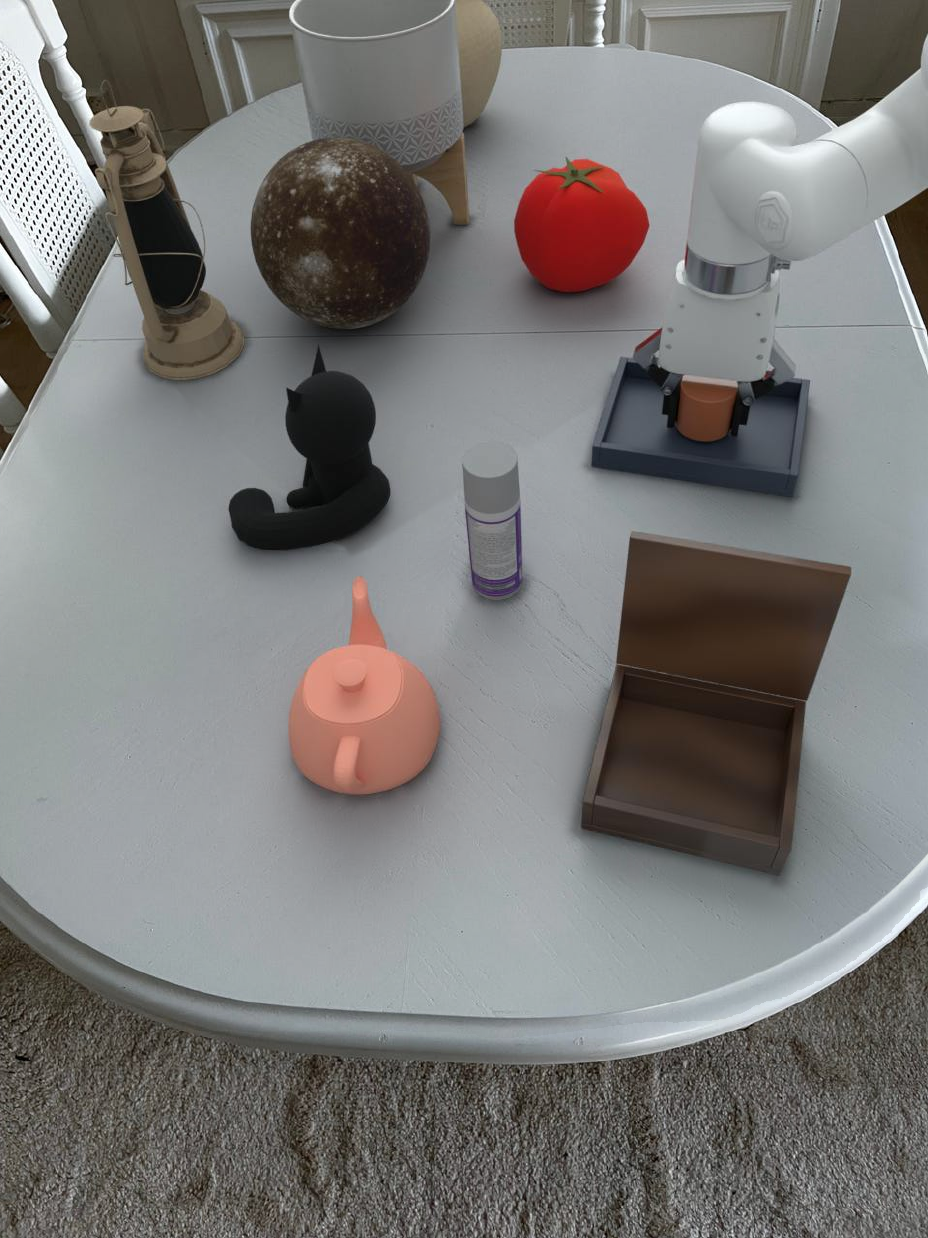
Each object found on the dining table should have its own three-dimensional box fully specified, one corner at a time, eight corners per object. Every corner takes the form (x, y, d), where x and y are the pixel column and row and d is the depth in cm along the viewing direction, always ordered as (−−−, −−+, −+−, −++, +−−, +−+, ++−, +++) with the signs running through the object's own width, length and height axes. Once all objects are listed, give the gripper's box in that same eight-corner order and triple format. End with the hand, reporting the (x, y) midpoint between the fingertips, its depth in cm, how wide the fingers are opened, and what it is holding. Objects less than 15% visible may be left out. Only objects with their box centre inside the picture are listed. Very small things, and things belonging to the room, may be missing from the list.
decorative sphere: (348, 387, 108) (315, 218, 93) (239, 321, 118) (192, 157, 102) (472, 304, 116) (460, 136, 101) (360, 249, 126) (334, 87, 110)
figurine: (304, 441, 103) (272, 320, 91) (417, 477, 98) (399, 354, 87) (214, 542, 95) (167, 422, 83) (333, 587, 90) (301, 467, 78)
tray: (804, 401, 102) (810, 379, 99) (792, 497, 93) (798, 475, 91) (619, 377, 106) (620, 356, 104) (591, 467, 98) (592, 445, 95)
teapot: (281, 830, 75) (252, 768, 67) (309, 643, 86) (287, 573, 79) (438, 828, 74) (426, 765, 67) (445, 640, 85) (436, 569, 78)
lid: (851, 574, 63) (851, 566, 64) (629, 537, 67) (631, 530, 67) (807, 701, 73) (808, 693, 74) (615, 664, 77) (617, 656, 77)
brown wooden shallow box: (779, 875, 70) (791, 850, 67) (580, 828, 73) (582, 801, 70) (795, 730, 77) (806, 701, 74) (613, 693, 81) (616, 663, 77)
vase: (457, 86, 154) (440, -148, 130) (527, 119, 145) (523, -126, 122) (372, 123, 148) (339, -116, 124) (440, 160, 139) (419, -90, 116)
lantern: (168, 309, 120) (76, 48, 97) (259, 313, 118) (188, 47, 95) (124, 384, 111) (11, 116, 88) (222, 389, 110) (134, 117, 86)
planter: (457, 261, 122) (439, 37, 102) (313, 257, 125) (268, 38, 105) (479, 185, 134) (467, -30, 114) (347, 183, 137) (312, -28, 116)
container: (488, 555, 91) (479, 432, 79) (531, 572, 89) (529, 449, 78) (462, 588, 89) (449, 467, 77) (507, 607, 87) (500, 486, 75)
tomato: (502, 300, 116) (497, 190, 106) (534, 239, 124) (533, 131, 114) (630, 318, 113) (639, 205, 102) (655, 254, 120) (666, 143, 110)
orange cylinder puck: (735, 409, 99) (742, 369, 95) (728, 445, 96) (735, 405, 92) (680, 402, 101) (685, 362, 97) (671, 437, 97) (676, 397, 93)
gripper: (834, 246, 84) (794, 411, 99) (637, 229, 88) (626, 389, 103) (828, 295, 80) (787, 460, 94) (622, 275, 84) (612, 435, 98)
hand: (703, 421), depth 98 cm, fingers closed on orange cylinder puck, 5 cm apart
